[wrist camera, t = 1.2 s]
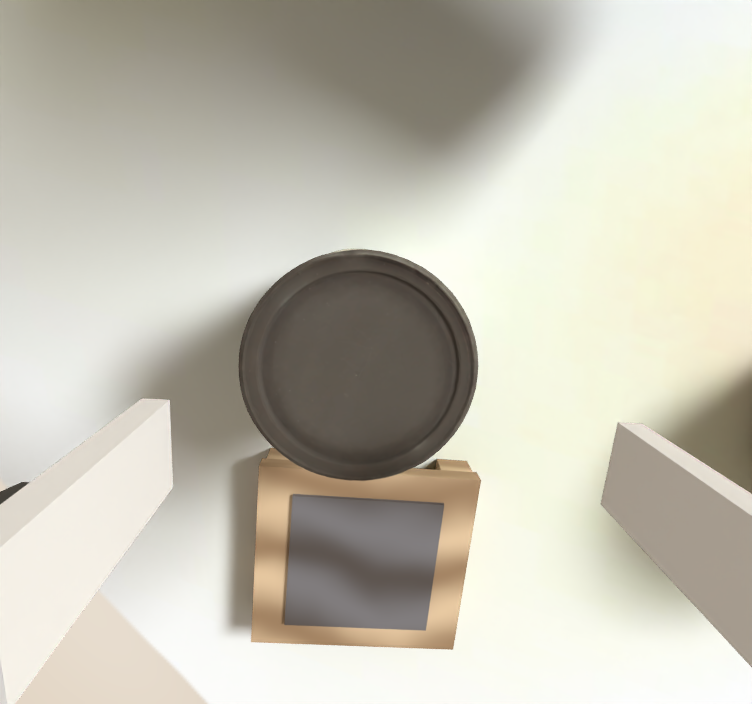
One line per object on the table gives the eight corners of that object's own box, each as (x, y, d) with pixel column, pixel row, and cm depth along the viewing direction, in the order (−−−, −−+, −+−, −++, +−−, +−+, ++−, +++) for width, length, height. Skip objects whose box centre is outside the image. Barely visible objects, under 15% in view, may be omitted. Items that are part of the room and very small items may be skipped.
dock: (266, 447, 35) (258, 468, 32) (470, 461, 36) (481, 482, 33) (258, 611, 38) (250, 645, 35) (445, 619, 40) (453, 652, 36)
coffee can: (411, 397, 35) (449, 497, 21) (275, 374, 34) (223, 464, 20) (440, 262, 33) (505, 276, 19) (296, 233, 32) (254, 226, 18)
